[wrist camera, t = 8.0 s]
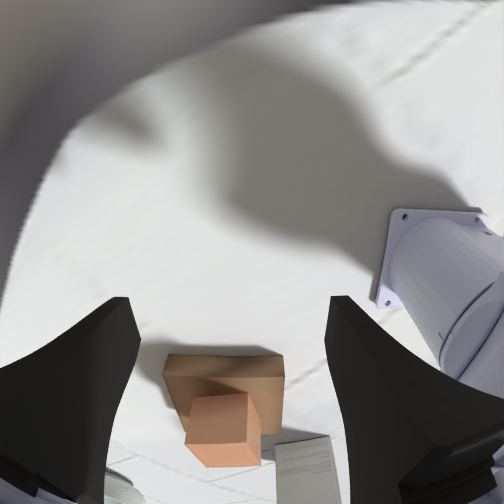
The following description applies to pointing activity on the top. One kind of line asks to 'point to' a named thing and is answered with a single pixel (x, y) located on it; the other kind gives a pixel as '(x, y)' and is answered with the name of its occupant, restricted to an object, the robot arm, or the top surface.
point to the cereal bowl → (120, 491)
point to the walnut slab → (228, 383)
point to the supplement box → (307, 473)
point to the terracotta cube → (224, 431)
